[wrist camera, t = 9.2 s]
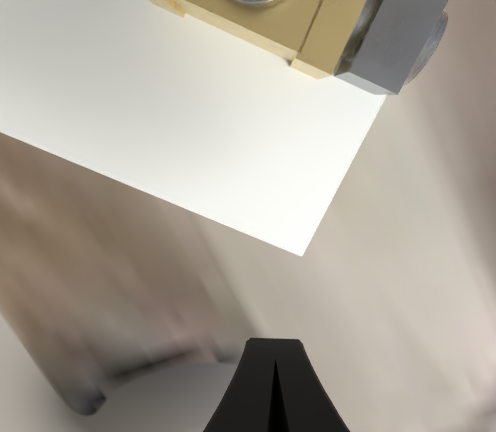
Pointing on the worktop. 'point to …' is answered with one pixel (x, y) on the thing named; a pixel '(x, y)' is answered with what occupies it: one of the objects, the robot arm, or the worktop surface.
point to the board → (181, 112)
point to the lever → (255, 3)
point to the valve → (334, 35)
